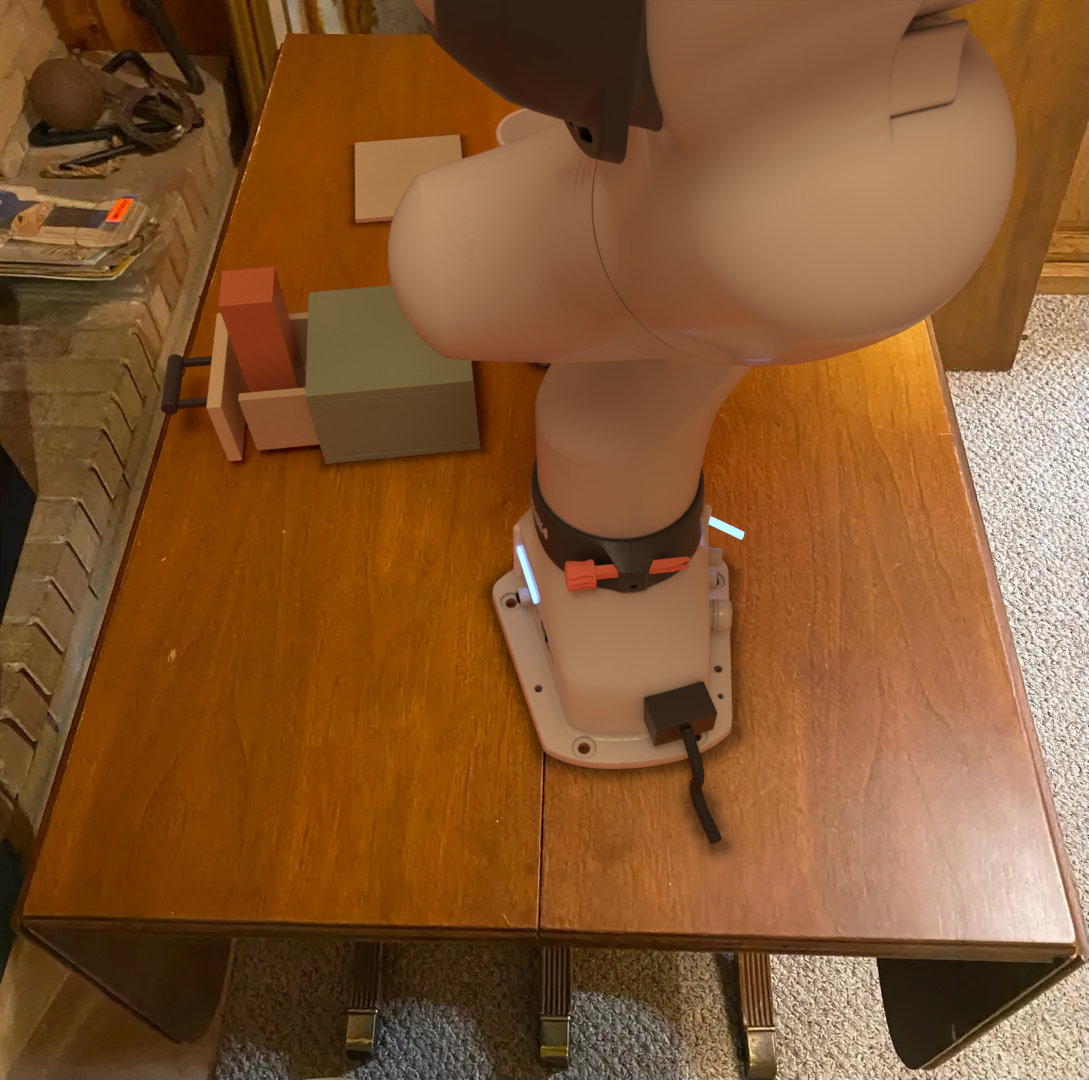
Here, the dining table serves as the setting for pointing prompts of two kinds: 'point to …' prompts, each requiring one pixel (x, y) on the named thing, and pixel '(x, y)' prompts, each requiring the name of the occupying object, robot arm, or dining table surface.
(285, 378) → the block
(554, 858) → the dining table surface
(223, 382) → the drawer
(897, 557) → the dining table surface
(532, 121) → the mug
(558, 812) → the dining table surface
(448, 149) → the board
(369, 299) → the cabinet
